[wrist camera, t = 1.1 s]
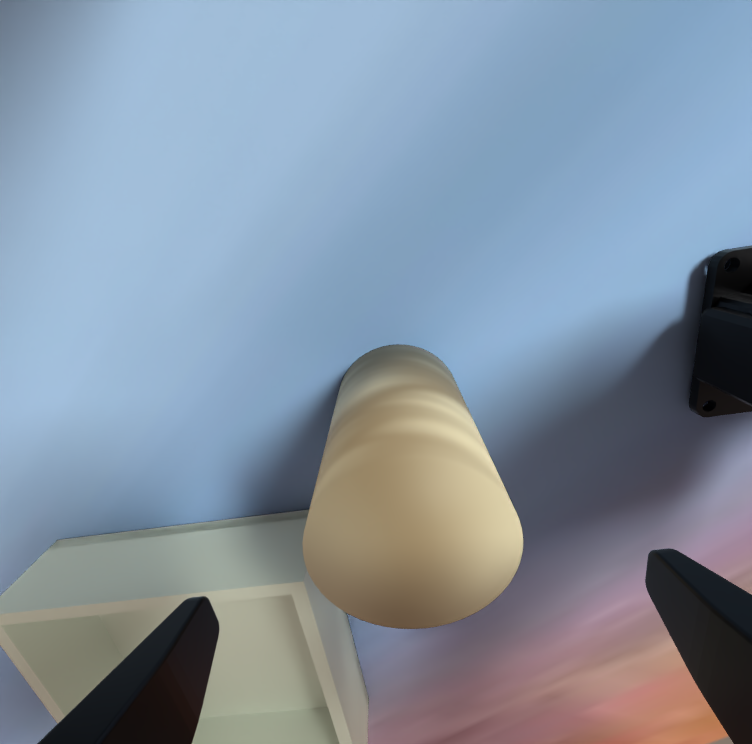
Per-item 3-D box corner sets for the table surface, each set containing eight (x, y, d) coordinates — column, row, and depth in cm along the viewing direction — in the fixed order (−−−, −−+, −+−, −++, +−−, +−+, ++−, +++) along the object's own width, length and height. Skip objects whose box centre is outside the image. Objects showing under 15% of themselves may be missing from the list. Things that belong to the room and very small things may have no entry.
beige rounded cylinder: (452, 335, 15) (520, 443, 8) (462, 445, 17) (525, 618, 10) (327, 354, 16) (278, 474, 8) (349, 459, 17) (326, 637, 10)
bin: (319, 508, 18) (303, 581, 15) (368, 698, 23) (366, 789, 20) (57, 539, 19) (-21, 616, 16) (158, 716, 24) (118, 806, 20)
